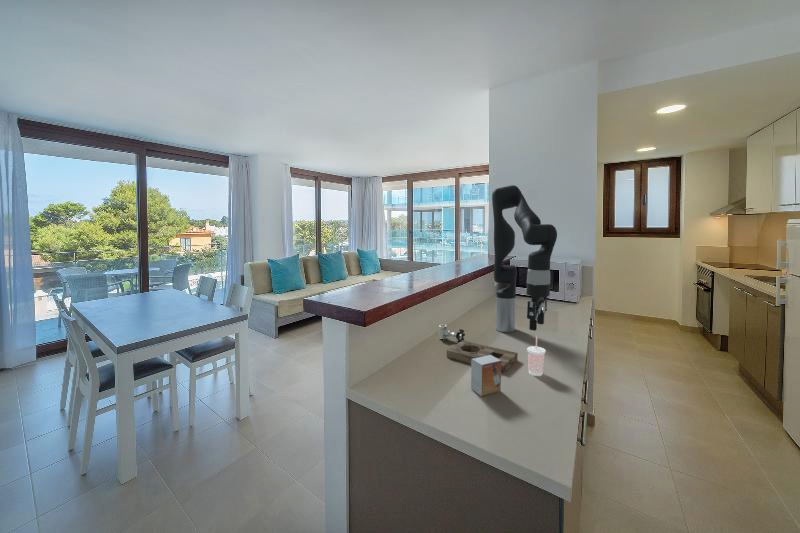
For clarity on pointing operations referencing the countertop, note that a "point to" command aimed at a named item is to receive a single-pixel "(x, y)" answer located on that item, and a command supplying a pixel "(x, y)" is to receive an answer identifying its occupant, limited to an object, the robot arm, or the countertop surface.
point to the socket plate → (481, 353)
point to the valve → (450, 333)
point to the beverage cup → (535, 359)
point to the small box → (486, 375)
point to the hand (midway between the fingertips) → (536, 326)
